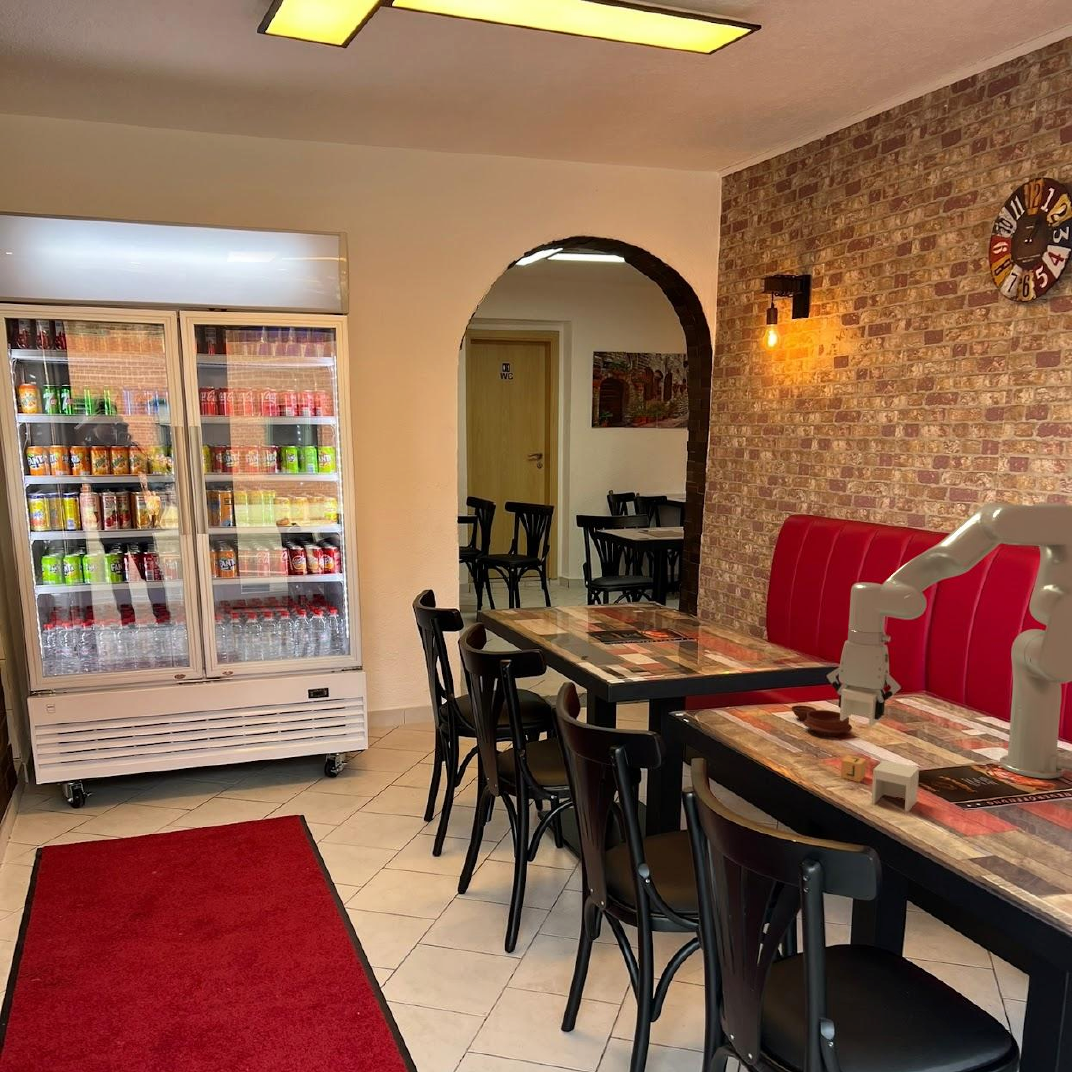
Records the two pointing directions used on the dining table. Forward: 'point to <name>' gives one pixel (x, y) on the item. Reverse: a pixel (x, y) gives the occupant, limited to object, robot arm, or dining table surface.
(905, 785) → the cover empty
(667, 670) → the dining table surface
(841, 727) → the pottery
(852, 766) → the letter cube
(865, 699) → the cover cube
